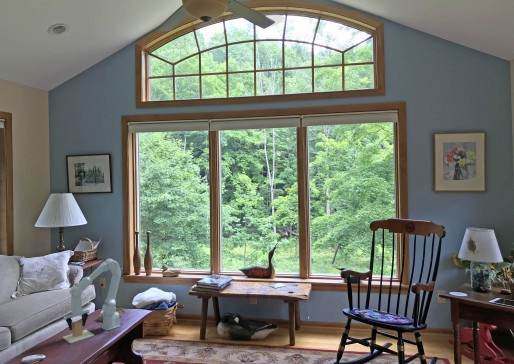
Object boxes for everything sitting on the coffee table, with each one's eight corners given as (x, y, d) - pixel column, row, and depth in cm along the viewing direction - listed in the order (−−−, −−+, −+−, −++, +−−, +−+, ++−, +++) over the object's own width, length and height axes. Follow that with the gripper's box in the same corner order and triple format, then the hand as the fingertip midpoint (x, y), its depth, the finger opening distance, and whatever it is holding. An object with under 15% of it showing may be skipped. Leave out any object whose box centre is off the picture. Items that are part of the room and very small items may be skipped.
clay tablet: (113, 311, 271) (94, 321, 252) (113, 304, 271) (94, 313, 252) (130, 313, 267) (112, 323, 248) (130, 306, 267) (112, 316, 248)
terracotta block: (79, 333, 231) (79, 320, 231) (82, 334, 228) (82, 322, 228) (72, 335, 228) (72, 322, 228) (75, 337, 225) (74, 324, 225)
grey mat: (86, 330, 236) (86, 329, 236) (94, 335, 228) (94, 334, 228) (62, 337, 226) (62, 336, 226) (70, 343, 218) (70, 342, 218)
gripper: (66, 310, 220) (67, 333, 220) (91, 304, 231) (91, 325, 231) (62, 308, 225) (62, 330, 225) (86, 301, 235) (87, 323, 236)
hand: (77, 327), depth 228 cm, fingers open, 7 cm apart
